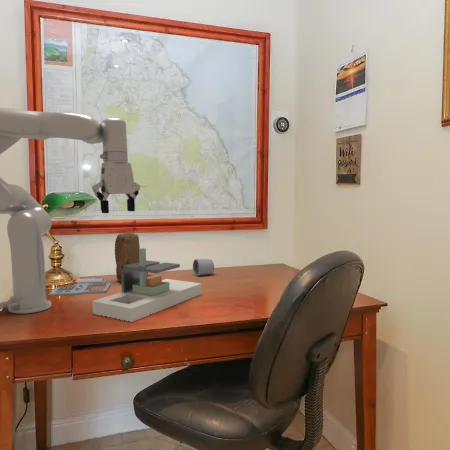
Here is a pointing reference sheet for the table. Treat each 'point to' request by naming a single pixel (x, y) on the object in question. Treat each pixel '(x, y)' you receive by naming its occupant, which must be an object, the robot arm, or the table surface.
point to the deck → (145, 301)
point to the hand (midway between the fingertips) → (118, 212)
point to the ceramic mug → (203, 267)
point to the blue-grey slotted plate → (82, 287)
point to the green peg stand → (142, 285)
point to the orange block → (153, 280)
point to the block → (126, 251)
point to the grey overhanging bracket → (132, 271)
